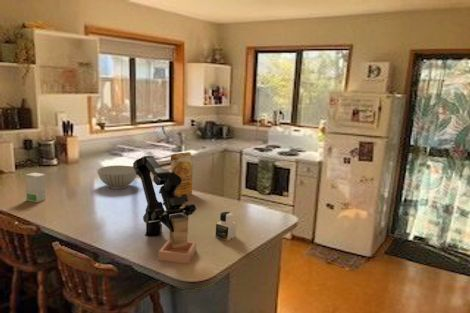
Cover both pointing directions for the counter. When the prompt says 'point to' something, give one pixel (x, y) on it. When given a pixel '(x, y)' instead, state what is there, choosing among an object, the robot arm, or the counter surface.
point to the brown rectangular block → (179, 230)
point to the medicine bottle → (226, 226)
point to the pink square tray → (177, 253)
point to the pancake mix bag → (183, 172)
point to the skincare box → (35, 187)
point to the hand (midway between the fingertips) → (180, 230)
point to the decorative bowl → (117, 176)
